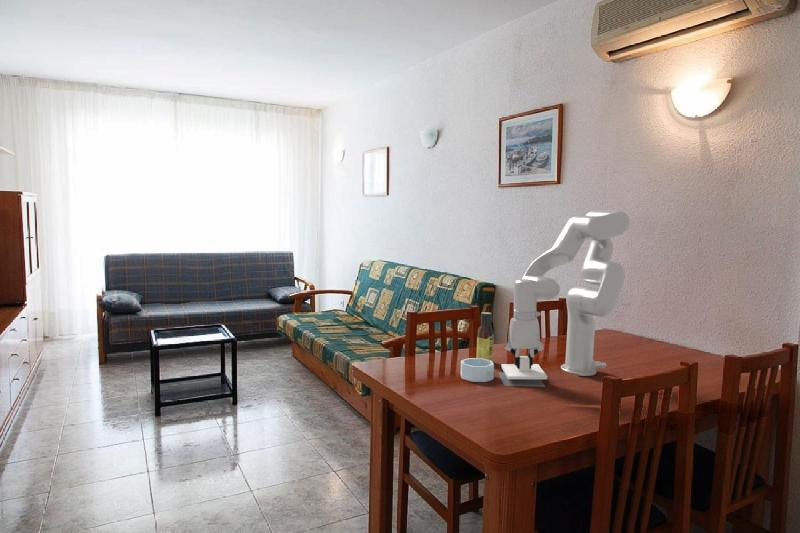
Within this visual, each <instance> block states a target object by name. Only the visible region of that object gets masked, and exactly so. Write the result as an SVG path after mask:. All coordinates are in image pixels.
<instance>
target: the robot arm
mask: <svg viewBox="0 0 800 533" xmlns="http://www.w3.org/2000/svg"><path fill="white" fill-rule="evenodd" d="M630 223H631V220H630V217H629V215H628V214H627V213H626V212H624V211H623V210H609V209H607V210H606V209H596V210H595V209H594V210H590V211H588V212H587V213H586V214H585V215H574V216H572V217H570V218H568V220H567V221H566V223H565V224H564V227H563V228H562V230H561V231H560V233H559V235H558V237H557V239H556V240H555V242H554V243H553V245H552V246H551V247H550V248H549V249H548V250H547V251H545V252H544V253H542V254H541V255H539V256H538V257H537V258H536V259H535V260H533V261H532V262H531V263H530V264H529V266H528V268H527V269H526V271H524V272H525V273H524V275H523V276H522V278H518V279H516V280H515V281H514V287H513V317H511V318H510V322H509V328H508V340H507V342H506V343H505V345H504V349H505V350H506V351H508V352H510V353H511V354H512V355H513V356H514V364H515V366H516V367H517V368H518V369H519V368H520V357H519V356H520V349H522V350H523V349H524V350H525V349H527V350H528V354H527V356H528V358H529V369H531V366H533V364H534V358H535V356H536V355H537V354H538V353H539V352H540V351H543V350H544V349H545V348H544V345H543V344H542V342H541V335H540V334H541V332H540V324H539V319H538V317H541V315H542V314H541V311H538V310H537V301H538V300H540V301H550V300H554V299H555V298H557V297H558V296H559V295H560V292H561V286H560V284H559V282H557V280H555V279H554V278H550V277H545V275H546V274H547V273H548V272H549V271H551V270H552V269H555V268H558V267H561V266H564V265H566V264H569V263H571V262H573V261H574V260H575V258H576V256H577V254H578V253H579V252H580V250H581V249H582V248H581V247H582V246H583V244H584V242H585V241H589V246H588V250H587V252H586V255H585V257H584V261H583V263H582V265H581V269H580V274H579V277H580V280H581V281H582V282H583V283H585V284H589V285H591V286H597V287H598V288H595V287H589V286H586V285H585V286H584V285H583V286H582V285H577V286H573V287H571V288H570V289H569V290H568V291H567V294H566V298H565V300H566V301H565V302H566V308H567V329H566V330H567V331H566V343H565V346H566V348H565V361H564V362H565V363H563V364H561V365H560V369H561V370H562V371H564V372H567V373H570V374H573V375H577V376H578V377H590V376H595V375H596V374H597V370H598V368H600V369H606V368H607V363H606V362H601V361H599V360H598V361H596V360H594V345H595V333H596V332H595V331H596V322H595V318H594V317H599V318H607V317H609V316H610V315H611V314H612V313H613V311H614V309H615V308H616V304H617V302H618V299H619V298H620V295H621V290H622V289H623V286H624V282H625V278H626V272H625V269H624V267H623V265H622V264H621V263H620V262H617V261H614V260H611V259H612V256H613V253H614V244H613V241H612V238H614V237H618V236H619V237H620V236H621V235H623V234H625V233H626V232H627V230H628V229H629V227H630V225H631V224H630ZM593 316H594V317H593Z"/></svg>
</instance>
